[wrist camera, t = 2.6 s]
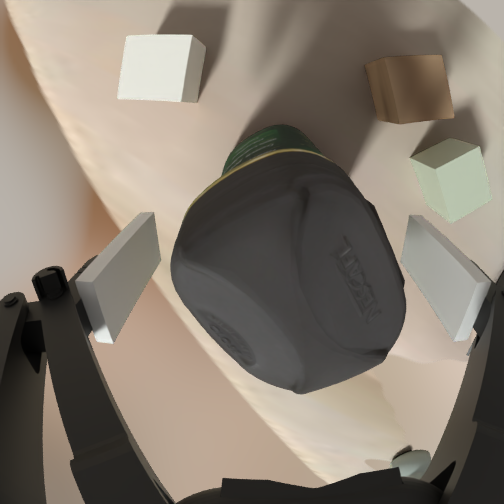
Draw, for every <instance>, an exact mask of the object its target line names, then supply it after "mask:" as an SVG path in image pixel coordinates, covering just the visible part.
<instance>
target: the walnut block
mask: <svg viewBox="0 0 504 504" xmlns="http://www.w3.org/2000/svg"><path fill="white" fill-rule="evenodd" d="M364 66H365V69H366V73H367V77H368V81H369V85H370V89H371V93H372V97H373V101H374V105H375V110H376V115H377V119H378V120H379V121H384V122H390V123H395V124H406V123H413V122H421V121H430V120H439V119H449V118H454V112H453V106H452V100H451V95H450V90H449V85H448V80H447V75H446V71H445V67H444V63H443V59H442V55H412V56H394V57H383V58H381V59H378V60H376V61H373V62H370V63H368V64H365V65H364Z"/></svg>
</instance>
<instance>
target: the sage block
mask: <svg viewBox="0 0 504 504" xmlns="http://www.w3.org/2000/svg"><path fill="white" fill-rule="evenodd" d="M410 160H411V163H412V165H413V168H414V171H415V173H416V176H417V179H418V182H419V184H420V187H421V190H422V193H423V196H424V199H425V202H426V205H427V206H429V207H430V208H431V209H433V210H434V211H435V212H436V213H438V214H439V215H440V216H442V217H443V218H444V219H445V220H447V221H448V222H449V223H450V224H452V223H453V222H455V221H457V220H459V219H460V218H462V217H464V216H466V215H467V214H469V213H471V212H472V211H474V210H476V209H477V208H479V207H481V206H482V205H484V204H486V203H487V202H489V201H491V200H492V196H491V191H490V186H489V182H488V177H487V173H486V169H485V165H484V161H483V157H482V154H481V150H480V146H477V145H474V144H471V143H467V142H464V141H460V140H457V139H453V138H448V139H446V140H444V141H442V142H440V143H438V144H436V145H434V146H432V147H430V148H428V149H426V150H424V151H422V152H420V153H418V154H416V155H414V156H412V157H410Z"/></svg>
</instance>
